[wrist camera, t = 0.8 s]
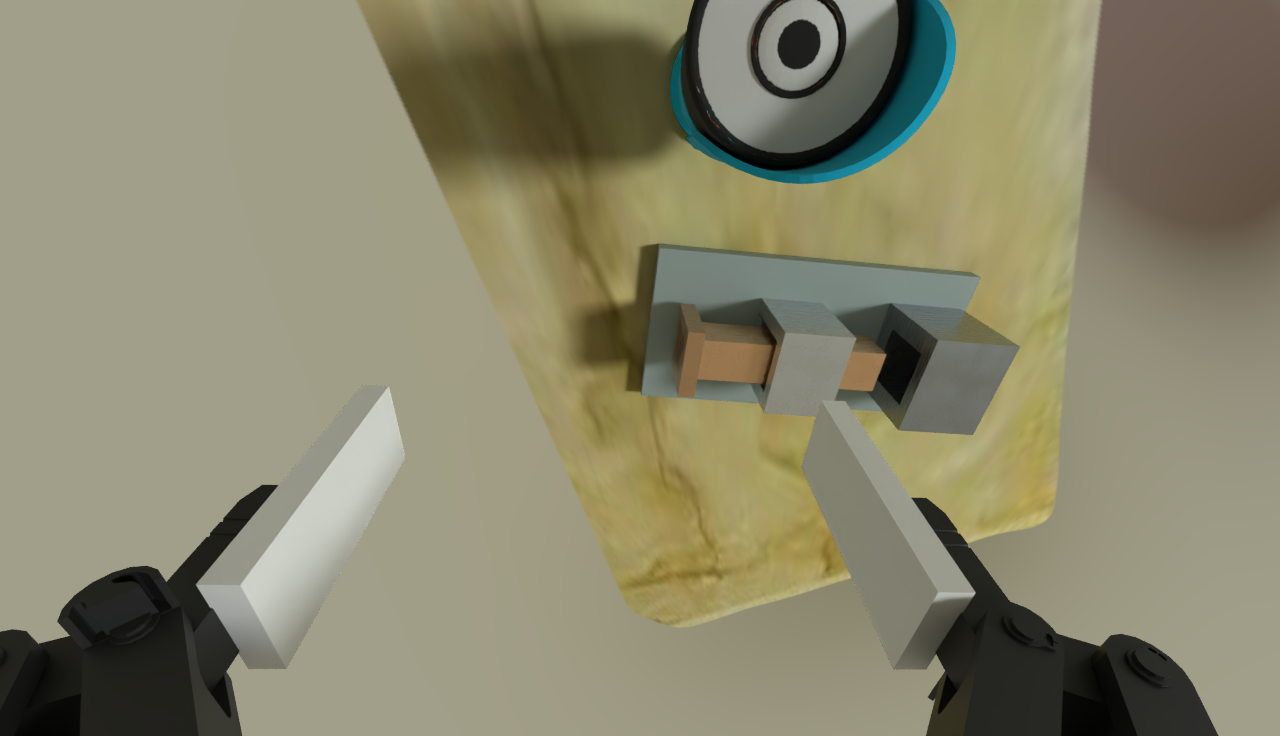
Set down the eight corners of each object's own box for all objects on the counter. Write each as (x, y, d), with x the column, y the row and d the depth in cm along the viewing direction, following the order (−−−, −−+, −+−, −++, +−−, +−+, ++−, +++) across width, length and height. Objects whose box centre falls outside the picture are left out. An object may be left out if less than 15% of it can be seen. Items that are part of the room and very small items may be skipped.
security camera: (894, -266, 11) (1076, 90, 15) (720, -43, 29) (819, 89, 33) (634, 58, 14) (841, 289, 17) (624, 75, 32) (726, 186, 36)
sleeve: (761, 297, 39) (785, 332, 33) (822, 303, 39) (856, 338, 34) (744, 370, 42) (763, 413, 37) (800, 374, 43) (828, 417, 37)
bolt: (680, 303, 38) (688, 332, 34) (866, 318, 39) (898, 348, 35) (671, 362, 41) (677, 396, 36) (846, 374, 42) (873, 409, 37)
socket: (890, 302, 40) (938, 340, 34) (960, 308, 40) (1019, 346, 34) (860, 383, 43) (898, 430, 37) (924, 388, 44) (972, 434, 38)
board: (658, 243, 38) (659, 248, 37) (971, 272, 40) (980, 277, 39) (640, 388, 44) (641, 395, 43) (911, 406, 46) (918, 413, 45)
